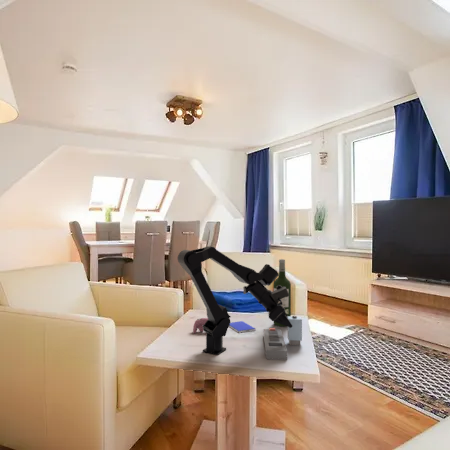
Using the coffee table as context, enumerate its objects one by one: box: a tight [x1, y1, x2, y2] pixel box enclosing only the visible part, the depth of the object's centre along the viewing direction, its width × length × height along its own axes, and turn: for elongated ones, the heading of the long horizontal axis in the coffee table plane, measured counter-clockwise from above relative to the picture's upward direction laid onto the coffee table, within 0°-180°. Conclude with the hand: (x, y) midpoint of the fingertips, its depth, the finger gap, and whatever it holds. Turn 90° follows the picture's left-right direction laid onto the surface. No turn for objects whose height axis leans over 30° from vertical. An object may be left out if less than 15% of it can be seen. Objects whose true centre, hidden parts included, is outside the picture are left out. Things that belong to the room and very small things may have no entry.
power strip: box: [263, 327, 288, 361], centre depth 129 cm, size 31×7×4 cm, turn 176°
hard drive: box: [228, 320, 257, 334], centre depth 150 cm, size 2×8×12 cm
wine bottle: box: [272, 258, 292, 328], centre depth 155 cm, size 8×8×30 cm
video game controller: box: [192, 317, 208, 334], centre depth 144 cm, size 10×5×7 cm, turn 85°
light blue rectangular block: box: [286, 315, 303, 346], centre depth 129 cm, size 4×5×11 cm
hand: (290, 323), depth 129 cm, fingers open, 9 cm apart
